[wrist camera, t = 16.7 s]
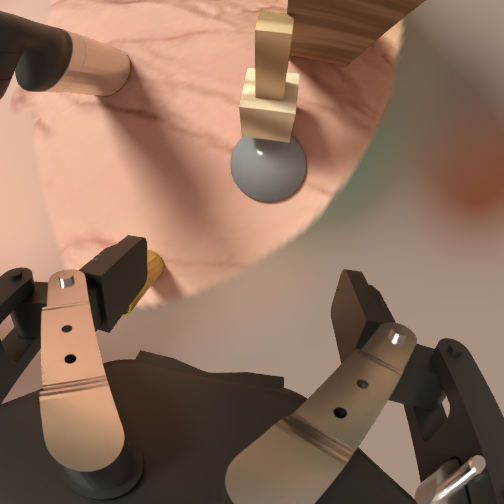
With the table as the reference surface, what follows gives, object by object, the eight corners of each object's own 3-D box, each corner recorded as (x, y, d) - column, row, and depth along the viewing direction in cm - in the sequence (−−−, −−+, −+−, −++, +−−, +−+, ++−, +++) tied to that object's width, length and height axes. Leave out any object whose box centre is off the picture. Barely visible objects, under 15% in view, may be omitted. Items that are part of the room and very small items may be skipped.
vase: (158, 283, 57) (128, 325, 44) (132, 268, 56) (97, 307, 43) (168, 258, 55) (137, 298, 42) (140, 243, 54) (103, 278, 41)
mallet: (309, 48, 22) (311, 9, 23) (233, 39, 22) (245, 2, 23) (289, 142, 42) (293, 105, 43) (241, 136, 42) (249, 99, 43)
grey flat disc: (216, 157, 47) (215, 158, 46) (275, 113, 43) (275, 113, 43) (261, 214, 50) (260, 215, 50) (320, 173, 47) (320, 174, 46)
